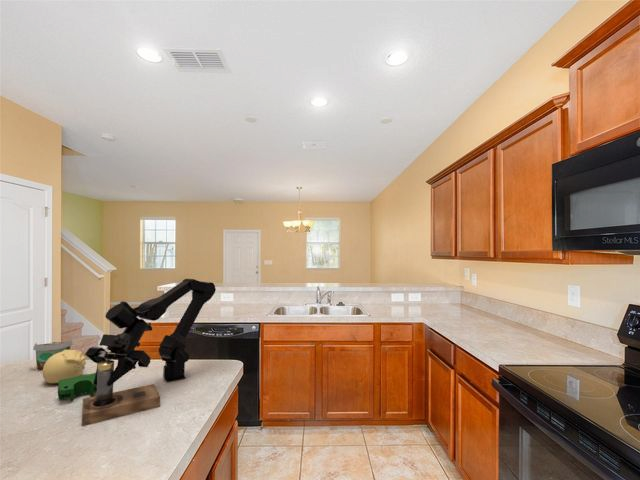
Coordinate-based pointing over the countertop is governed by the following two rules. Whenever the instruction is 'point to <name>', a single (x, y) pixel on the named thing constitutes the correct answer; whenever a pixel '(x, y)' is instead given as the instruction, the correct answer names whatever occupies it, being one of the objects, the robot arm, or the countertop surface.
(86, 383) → the clamp
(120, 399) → the socket plate
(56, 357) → the sculpture
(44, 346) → the food container
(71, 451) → the countertop surface
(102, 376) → the grey and gold cylinder
